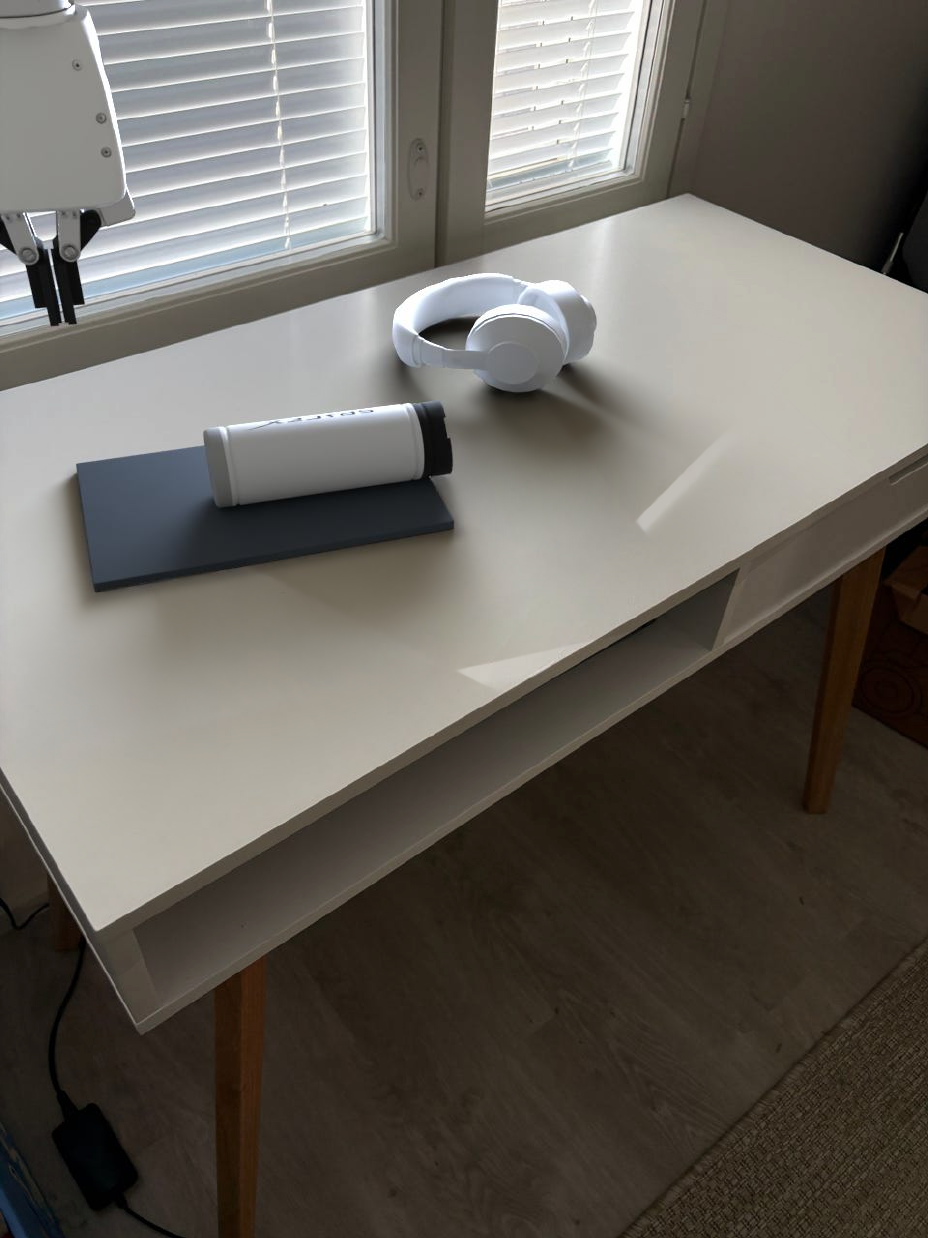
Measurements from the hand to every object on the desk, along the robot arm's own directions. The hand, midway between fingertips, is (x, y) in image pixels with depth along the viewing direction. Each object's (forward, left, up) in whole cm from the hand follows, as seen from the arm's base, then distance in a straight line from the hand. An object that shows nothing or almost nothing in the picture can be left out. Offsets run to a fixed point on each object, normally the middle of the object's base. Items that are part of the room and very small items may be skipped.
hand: (62, 315), depth 64 cm
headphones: (+39, +22, -20) cm, 49 cm away
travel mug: (+8, +4, -16) cm, 18 cm away
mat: (+12, +4, -20) cm, 23 cm away
